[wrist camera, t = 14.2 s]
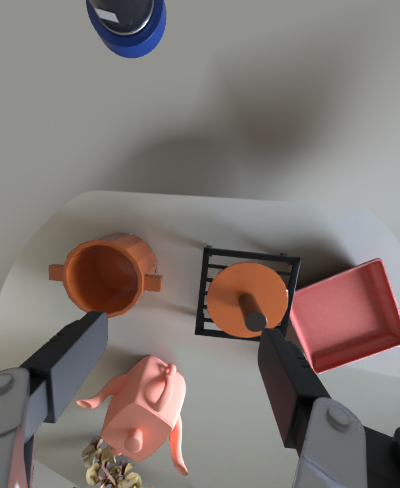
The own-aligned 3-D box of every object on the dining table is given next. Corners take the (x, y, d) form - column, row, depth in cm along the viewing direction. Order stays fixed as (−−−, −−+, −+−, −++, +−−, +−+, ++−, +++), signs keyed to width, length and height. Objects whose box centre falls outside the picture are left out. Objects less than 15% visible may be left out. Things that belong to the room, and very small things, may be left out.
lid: (211, 256, 32) (212, 270, 25) (292, 265, 32) (315, 281, 25) (202, 329, 35) (201, 359, 28) (278, 337, 35) (296, 370, 28)
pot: (79, 228, 37) (43, 234, 29) (172, 238, 37) (162, 247, 29) (80, 289, 40) (46, 311, 31) (167, 298, 39) (157, 323, 31)
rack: (204, 242, 37) (203, 247, 32) (288, 251, 37) (301, 258, 32) (196, 319, 40) (194, 334, 35) (274, 327, 40) (284, 344, 35)
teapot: (192, 405, 44) (187, 483, 31) (120, 406, 45) (87, 483, 32) (188, 346, 41) (180, 406, 29) (111, 348, 42) (71, 407, 29)
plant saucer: (306, 363, 41) (314, 377, 38) (274, 290, 38) (280, 297, 35) (393, 331, 39) (410, 343, 36) (366, 251, 36) (381, 256, 33)
